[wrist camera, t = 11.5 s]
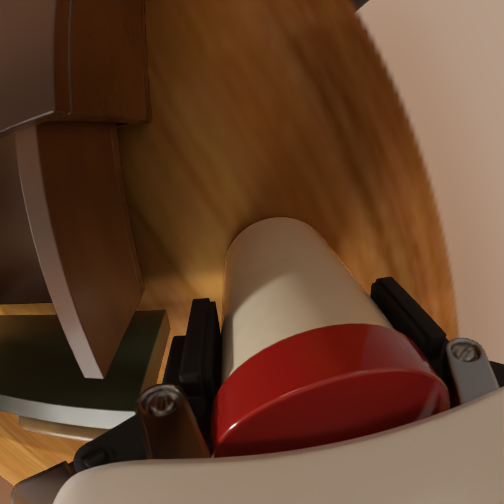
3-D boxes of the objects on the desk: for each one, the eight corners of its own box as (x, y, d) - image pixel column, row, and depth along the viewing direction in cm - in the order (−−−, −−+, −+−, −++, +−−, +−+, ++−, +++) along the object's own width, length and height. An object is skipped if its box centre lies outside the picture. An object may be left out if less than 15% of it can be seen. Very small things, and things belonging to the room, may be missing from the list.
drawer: (187, 386, 17) (175, 484, 11) (26, 379, 17) (-13, 446, 11) (129, 53, 11) (53, 2, 5) (-50, 126, 11) (-132, 142, 4)
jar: (334, 208, 15) (484, 339, 5) (332, 311, 17) (414, 479, 7) (212, 218, 15) (181, 394, 5) (226, 323, 17) (228, 516, 7)
